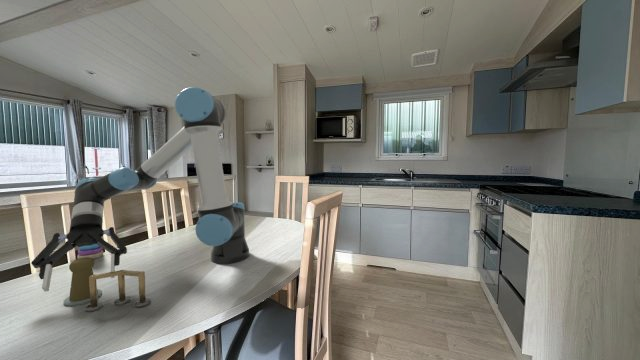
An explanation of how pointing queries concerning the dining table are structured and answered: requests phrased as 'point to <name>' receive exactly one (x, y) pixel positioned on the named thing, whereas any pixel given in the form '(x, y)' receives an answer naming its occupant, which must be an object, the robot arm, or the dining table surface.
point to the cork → (80, 278)
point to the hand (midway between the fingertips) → (80, 282)
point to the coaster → (69, 303)
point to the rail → (121, 282)
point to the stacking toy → (90, 251)
